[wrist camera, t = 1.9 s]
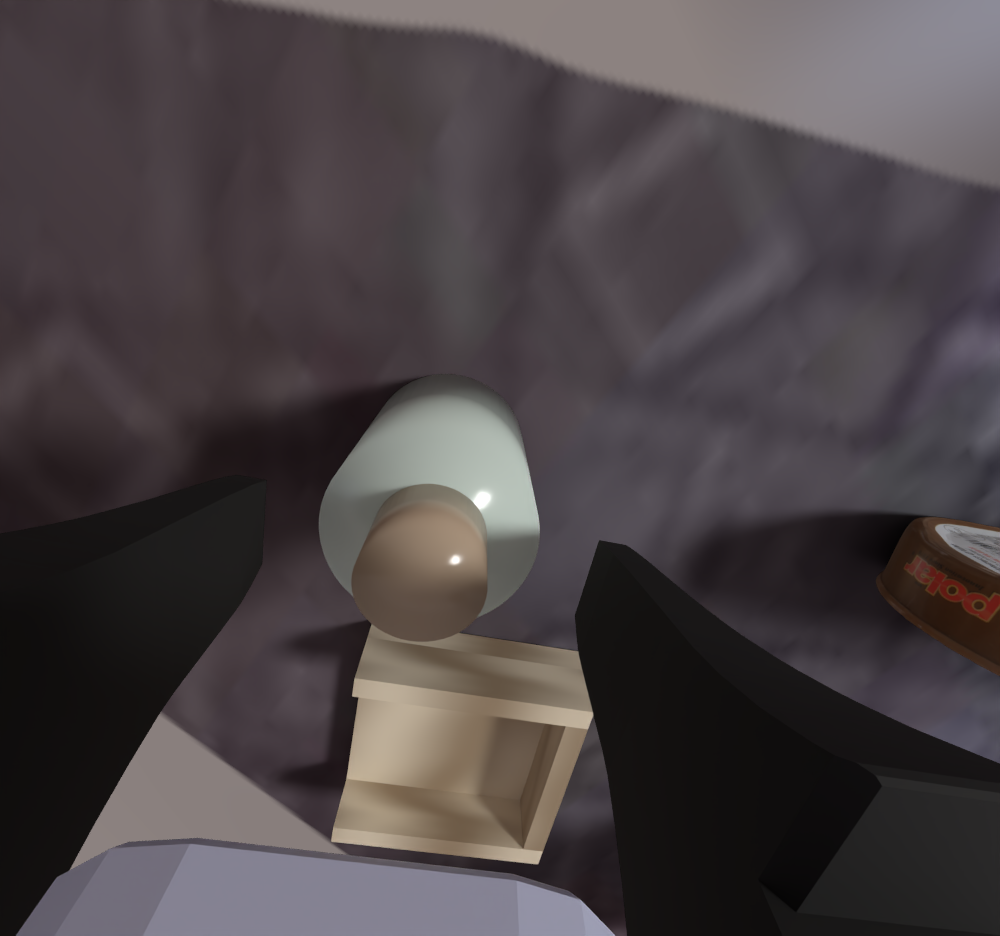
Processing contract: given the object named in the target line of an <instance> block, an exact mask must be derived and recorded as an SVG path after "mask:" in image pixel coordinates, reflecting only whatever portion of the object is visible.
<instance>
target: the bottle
mask: <svg viewBox="0 0 1000 936" xmlns="http://www.w3.org/2000/svg"><path fill="white" fill-rule="evenodd" d="M319 535H320V543H321V546H322V550H323V553H324V556H325V558H326V561H327V563H328V565H329V567H330V569H331V570H332V572H333V574H334V575H335V577H336V578H337V580H338V581H339V582H340V583H341V585H342V586H343V587H344V588H345V589H346V590H347V591H348V592H349V593H350V594H351V595H352V596H353V597H354V600H355V602H356V604H357V606H358V608H359V610H360V611H361V613H362V614H363V615H364V616H365V618H366V619H367V620H368V621H369V622H370V623H371V624H373V625H374V626H375V627H377V628H378V629H379V630H381V631H383V632H385V633H386V634H389V635H391V636H393V637H396V638H399V639H403V640H408V641H416V642H429V641H436V640H441V639H445V638H448V637H451V636H453V635H455V634H457V633H459V632H460V631H462V630H464V629H465V628H466V627H468V626H469V625H470V624H471V623H472V622H473V621H474V620H475V619H476V618H477V617H480V616H482V615H484V614H486V613H488V612H490V611H492V610H493V609H495V608H497V607H498V606H500V605H501V604H502V603H504V602H505V601H506V600H507V599H509V598H510V597H511V596H512V595H513V594H514V593H515V592H516V591H517V590H518V588H519V587H520V586H521V585H522V583H523V582H524V580H525V579H526V578H527V576H528V574H529V572H530V570H531V568H532V566H533V564H534V561H535V558H536V555H537V551H538V546H539V536H540V527H539V517H538V512H537V507H536V502H535V498H534V493H533V488H532V483H531V478H530V474H529V469H528V464H527V459H526V454H525V449H524V445H523V440H522V435H521V431H520V427H519V424H518V421H517V419H516V417H515V415H514V413H513V411H512V409H511V408H510V407H509V405H508V404H507V403H506V401H505V400H504V399H503V398H502V397H501V396H500V395H499V394H498V393H497V392H495V391H494V390H493V389H491V388H490V387H488V386H487V385H485V384H483V383H482V382H479V381H477V380H475V379H472V378H469V377H465V376H461V375H454V374H437V375H430V376H426V377H422V378H419V379H417V380H414V381H412V382H410V383H408V384H407V385H405V386H403V387H402V388H401V389H399V390H398V391H397V392H395V393H394V394H393V396H392V397H391V398H390V399H389V400H388V401H387V402H386V404H385V405H384V407H383V408H382V409H381V411H380V412H379V414H378V415H377V416H376V418H375V419H374V421H373V422H372V423H371V425H370V426H369V428H368V429H367V430H366V432H365V433H364V435H363V436H362V438H361V439H360V440H359V442H358V443H357V445H356V446H355V447H354V449H353V450H352V452H351V453H350V454H349V456H348V457H347V459H346V460H345V461H344V463H343V464H342V466H341V467H340V469H339V470H338V471H337V473H336V474H335V476H334V477H333V478H332V480H331V482H330V484H329V486H328V488H327V490H326V491H325V494H324V497H323V500H322V503H321V508H320V514H319Z"/></svg>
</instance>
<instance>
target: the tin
mask: <svg viewBox="0 0 1000 936" xmlns="http://www.w3.org/2000/svg"><path fill="white" fill-rule="evenodd" d="M876 585H877V588H878V590H879V592H880V594H881V595H882V596H883V597H884V599H885V600H886V601H887V602H888V603H889V604H890V605H891V606H892V607H893V608H894V609H895V610H896V611H898V612H899V613H900V614H901V615H903V616H904V617H905V618H906V619H907V620H908V621H910V622H911V623H912V624H914V625H915V626H917V627H918V628H920V629H921V630H923V631H924V632H925V633H927V634H929V635H930V636H931V637H933V638H934V639H936V640H938V641H939V642H941V643H942V644H944V645H945V646H947V647H948V648H950V649H952V650H953V651H955V652H957V653H958V654H960V655H962V656H964V657H966V658H968V659H970V660H971V661H973V662H974V663H976V664H978V665H979V666H981V667H983V668H985V669H987V670H989V671H991V672H993V673H995V674H997V675H999V676H1000V528H997V527H992V526H987V525H982V524H977V523H971V522H966V521H961V520H955V519H948V518H940V517H922V518H917V519H915V520H913V521H912V522H911V523H910V524H909V525H908V527H907V528H906V529H905V531H904V533H903V534H902V536H901V538H900V540H899V542H898V544H897V546H896V548H895V550H894V552H893V554H892V556H891V558H890V560H889V562H888V564H887V566H886V568H885V570H884V571H883V572H881V573H880V574H879V575H878V576H877V578H876Z"/></svg>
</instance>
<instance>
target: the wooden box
mask: <svg viewBox="0 0 1000 936" xmlns="http://www.w3.org/2000/svg"><path fill="white" fill-rule="evenodd" d="M352 697H359V698H358V705H357V712H356V718H355V725H354V732H353V738H352V745H351V752H350V759H349V765H348V772H347V779H346V783H345V786H344V790H343V794H342V797H341V801H340V805H339V809H338V812H337V816H336V820H335V823H334V827H333V834H332V841H331V842H340V843H349V844H358V845H367V846H376V847H385V848H394V849H403V850H412V851H421V852H430V853H439V854H448V855H457V856H466V857H475V858H484V859H493V860H502V861H511V862H521V863H530V864H538V863H539V861H540V858H541V855H542V853H543V850H544V847H545V844H546V842H547V839H548V836H549V834H550V831H551V828H552V825H553V823H554V820H555V817H556V815H557V812H558V809H559V806H560V804H561V801H562V798H563V796H564V793H565V790H566V787H567V785H568V782H569V779H570V777H571V774H572V771H573V768H574V766H575V763H576V760H577V758H578V755H579V752H580V749H581V747H582V744H583V741H584V739H585V736H586V733H587V730H588V728H589V725H590V722H591V720H592V717H593V711H592V707H591V703H590V699H589V695H588V691H587V687H586V683H585V679H584V675H583V671H582V667H581V662H580V658H579V652H578V651H572V650H566V649H559V648H553V647H546V646H540V645H533V644H527V643H521V642H514V641H508V640H501V639H495V638H488V637H482V636H475V635H469V634H462V633H457V634H455V635H453V636H451V637H448V638H445V639H441V640H436V641H429V642H416V641H408V640H403V639H399V638H396V637H393V636H391V635H389V634H386V633H385V632H383V631H381V630H379V629H378V628H377V627H375V626H374V625H373V624H372V625H371V628H370V631H369V634H368V637H367V641H366V644H365V647H364V650H363V653H362V656H361V660H360V663H359V666H358V669H357V672H356V675H355V679H354V686H353V693H352Z"/></svg>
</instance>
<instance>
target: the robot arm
mask: <svg viewBox="0 0 1000 936" xmlns="http://www.w3.org/2000/svg"><path fill="white" fill-rule="evenodd" d="M266 483H267V480H262V479H257V478H251V477H246V476H240V475H233V476H227V477H223V478H219V479H215V480H212V481H208V482H205V483H201V484H198V485H195V486H192V487H188V488H185V489H182V490H178V491H175V492H172V493H169V494H165V495H162V496H159V497H156V498H152V499H149V500H146V501H142V502H138V503H135V504H131V505H127V506H123V507H120V508H116V509H112V510H109V511H105V512H101V513H98V514H94V515H90V516H86V517H82V518H77V519H73V520H69V521H64V522H60V523H55V524H50V525H45V526H39V527H34V528H29V529H24V530H19V531H13V532H7V533H1V534H0V936H615V935H614V934H613V933H612V932H611V931H610V930H609V928H608V927H607V926H606V925H605V924H604V923H603V922H602V921H601V920H600V919H599V918H598V917H597V916H596V915H595V914H594V913H593V912H592V911H591V910H590V909H589V908H588V907H587V906H586V905H585V904H584V903H583V902H582V901H581V900H580V899H579V898H578V897H576V896H575V895H574V894H572V893H571V892H570V891H567V890H564V889H561V888H558V887H554V886H551V885H548V884H545V883H541V882H538V881H535V880H531V879H528V878H525V877H522V876H518V875H515V874H510V873H501V872H493V871H484V870H475V869H466V868H457V867H449V866H440V865H431V864H422V863H413V862H405V861H396V860H387V859H378V858H369V857H361V856H352V855H343V854H334V853H325V852H316V851H307V850H299V849H290V848H281V847H273V846H264V845H255V844H246V843H238V842H229V841H220V840H210V839H202V838H189V839H172V840H154V841H137V842H128V843H125V844H122V845H119V846H116V847H113V848H111V849H108V850H107V851H105V852H103V853H101V854H100V855H98V856H95V857H94V858H92V859H90V860H88V861H86V862H84V863H82V864H81V865H79V866H77V867H75V868H73V869H71V870H70V868H71V866H72V864H73V862H74V861H75V859H76V857H77V855H78V853H79V851H80V850H81V847H82V846H83V844H84V842H85V840H86V839H87V837H88V835H89V833H90V831H91V829H92V827H93V826H94V824H95V822H96V820H97V819H98V817H99V815H100V813H101V812H102V810H103V808H104V806H105V805H106V803H107V801H108V799H109V798H110V796H111V794H112V792H113V791H114V789H115V787H116V786H117V784H118V782H119V780H120V778H121V777H122V775H123V773H124V772H125V770H126V768H127V766H128V765H129V763H130V761H131V760H132V758H133V756H134V755H135V753H136V751H137V750H138V748H139V746H140V745H141V743H142V741H143V740H144V738H145V737H146V735H147V733H148V732H149V730H150V728H151V727H152V725H153V723H154V722H155V720H156V718H157V717H158V715H159V714H160V712H161V711H162V709H163V708H164V706H165V705H166V703H167V702H168V700H169V699H170V698H171V696H172V695H173V693H174V692H175V690H176V689H177V688H178V686H179V685H180V684H181V682H182V681H183V680H184V678H185V677H186V676H187V674H188V673H189V672H190V671H191V669H192V668H193V667H194V665H195V664H196V663H197V661H198V660H199V659H200V657H201V656H202V655H203V653H204V652H205V651H206V649H207V648H208V647H209V645H210V644H211V643H212V641H213V640H214V639H215V637H216V636H217V635H218V633H219V632H220V631H221V629H222V628H223V627H224V625H225V624H226V623H227V621H228V620H229V619H230V617H231V616H232V615H233V613H234V612H235V610H236V609H237V608H238V606H239V605H240V603H241V602H242V600H243V598H244V597H245V595H246V593H247V591H248V590H249V588H250V586H251V584H252V582H253V580H254V578H255V577H256V575H257V573H258V571H259V569H260V567H261V565H262V557H263V538H264V520H265V501H266ZM575 622H576V634H577V643H578V652H579V658H580V662H581V667H582V671H583V675H584V679H585V683H586V687H587V691H588V695H589V699H590V703H591V707H592V711H593V715H594V719H595V723H596V727H597V731H598V735H599V739H600V742H601V746H602V750H603V755H604V760H605V765H606V769H607V774H608V781H609V788H610V795H611V802H612V809H613V816H614V822H615V830H616V838H617V846H618V855H619V863H620V871H621V879H622V888H623V898H624V908H625V918H626V928H627V936H1000V764H999V763H997V762H994V761H992V760H989V759H987V758H984V757H982V756H980V755H977V754H975V753H972V752H970V751H967V750H965V749H962V748H960V747H957V746H955V745H953V744H950V743H948V742H945V741H943V740H940V739H938V738H935V737H933V736H930V735H928V734H926V733H923V732H921V731H918V730H916V729H914V728H911V727H909V726H907V725H905V724H902V723H900V722H898V721H896V720H894V719H892V718H890V717H887V716H885V715H883V714H881V713H879V712H877V711H875V710H873V709H870V708H868V707H866V706H864V705H862V704H860V703H858V702H856V701H854V700H852V699H850V698H848V697H846V696H844V695H842V694H840V693H838V692H836V691H834V690H832V689H831V688H829V687H827V686H825V685H823V684H822V683H820V682H818V681H816V680H814V679H812V678H811V677H809V676H807V675H805V674H803V673H802V672H800V671H798V670H796V669H795V668H793V667H791V666H789V665H788V664H786V663H784V662H783V661H781V660H779V659H778V658H776V657H774V656H773V655H771V654H770V653H768V652H767V651H765V650H764V649H762V648H761V647H759V646H757V645H756V644H754V643H753V642H751V641H750V640H748V639H747V638H745V637H744V636H742V635H741V634H739V633H738V632H736V631H735V630H734V629H732V628H731V627H729V626H728V625H727V624H725V623H724V622H723V621H721V620H720V619H719V618H717V617H716V616H715V615H713V614H712V613H711V612H709V611H708V610H707V609H705V608H704V607H703V606H702V605H700V604H699V603H698V602H696V601H695V600H694V599H693V598H691V597H690V596H689V595H688V594H687V593H685V592H684V591H683V590H682V589H680V588H679V587H678V586H677V585H676V584H674V583H673V582H672V581H671V580H670V579H668V578H667V577H666V576H665V575H664V574H662V573H661V572H660V571H659V570H658V569H657V568H655V567H654V566H653V565H652V564H651V563H649V562H648V561H647V560H646V559H644V558H643V557H642V556H641V555H639V554H638V553H637V552H635V551H634V550H633V549H631V548H630V547H628V546H626V545H622V544H617V543H611V542H606V541H600V540H599V542H598V546H597V549H596V552H595V555H594V558H593V561H592V564H591V567H590V570H589V574H588V577H587V580H586V583H585V586H584V589H583V592H582V595H581V598H580V601H579V605H578V608H577V611H576V614H575Z"/></svg>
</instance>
